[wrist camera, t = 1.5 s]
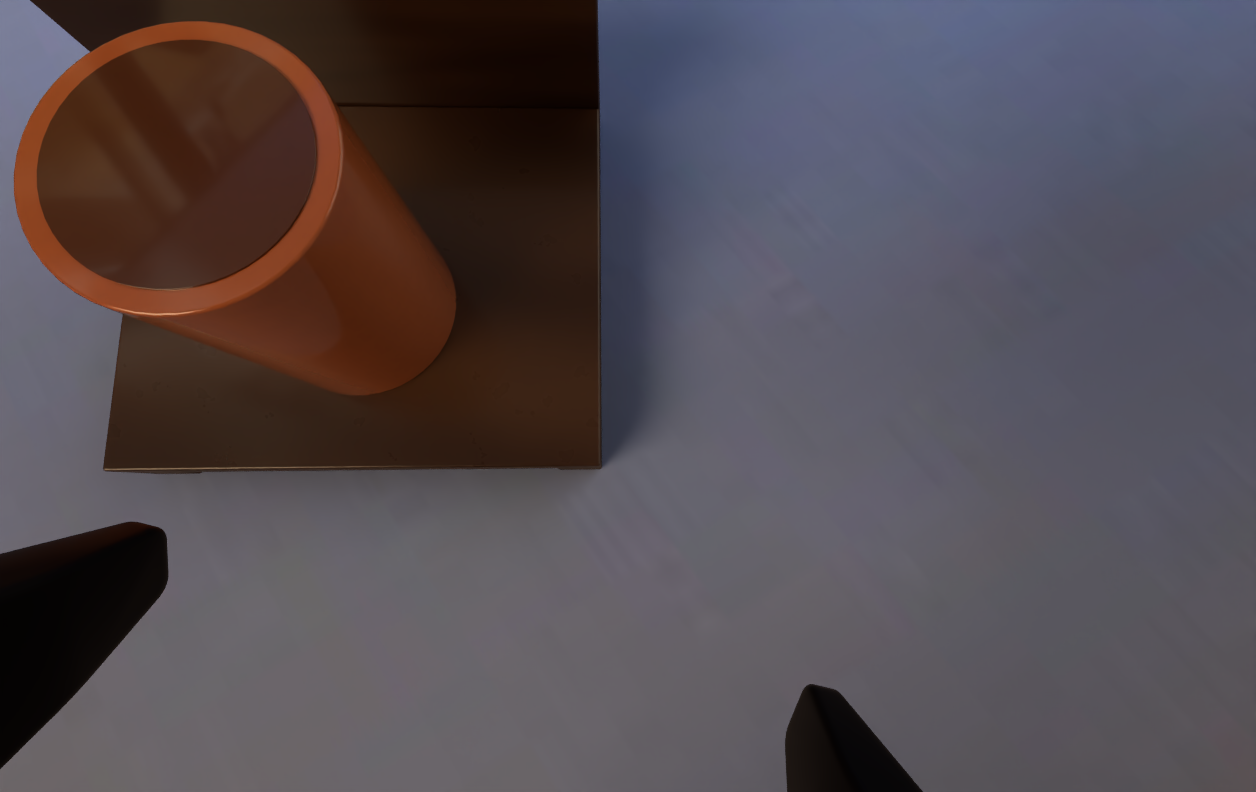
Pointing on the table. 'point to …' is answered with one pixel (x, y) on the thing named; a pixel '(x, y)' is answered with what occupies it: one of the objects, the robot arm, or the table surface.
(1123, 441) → the table surface
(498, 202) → the dark brown wooden piece
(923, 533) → the table surface
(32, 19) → the table surface
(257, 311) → the cup
